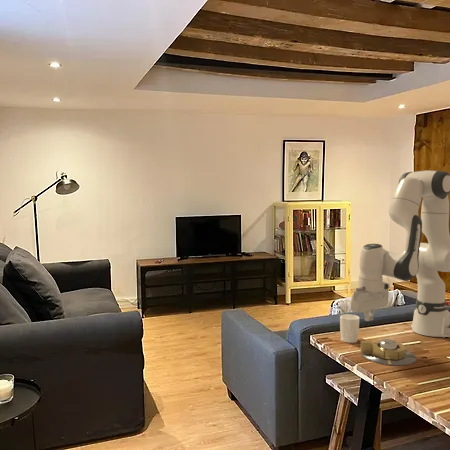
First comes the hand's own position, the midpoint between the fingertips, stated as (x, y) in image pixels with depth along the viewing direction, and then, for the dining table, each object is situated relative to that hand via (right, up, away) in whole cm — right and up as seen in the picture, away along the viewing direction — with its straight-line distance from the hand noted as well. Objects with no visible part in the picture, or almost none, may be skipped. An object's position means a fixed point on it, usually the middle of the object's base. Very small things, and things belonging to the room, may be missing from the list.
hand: (368, 320), depth 181 cm
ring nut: (+4, -11, -5) cm, 13 cm away
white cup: (-5, -11, +12) cm, 17 cm away
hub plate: (+6, -12, -5) cm, 15 cm away
